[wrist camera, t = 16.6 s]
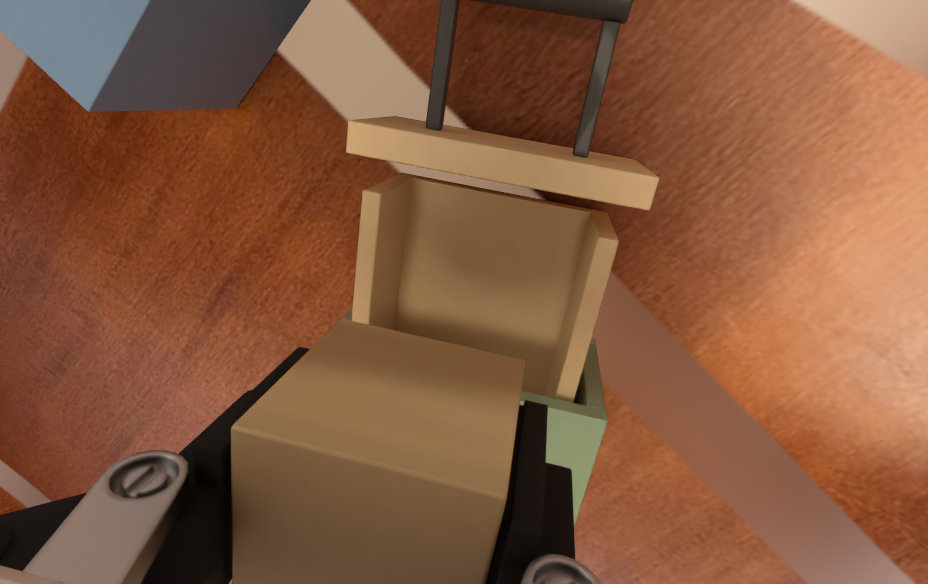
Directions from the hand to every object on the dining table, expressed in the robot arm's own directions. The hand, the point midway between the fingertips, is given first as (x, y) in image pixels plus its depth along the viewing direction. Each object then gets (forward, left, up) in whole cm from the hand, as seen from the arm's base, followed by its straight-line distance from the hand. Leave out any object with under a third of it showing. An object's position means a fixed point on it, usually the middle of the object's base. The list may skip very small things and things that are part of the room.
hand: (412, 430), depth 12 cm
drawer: (-2, 0, -15) cm, 15 cm away
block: (0, 0, -1) cm, 1 cm away
